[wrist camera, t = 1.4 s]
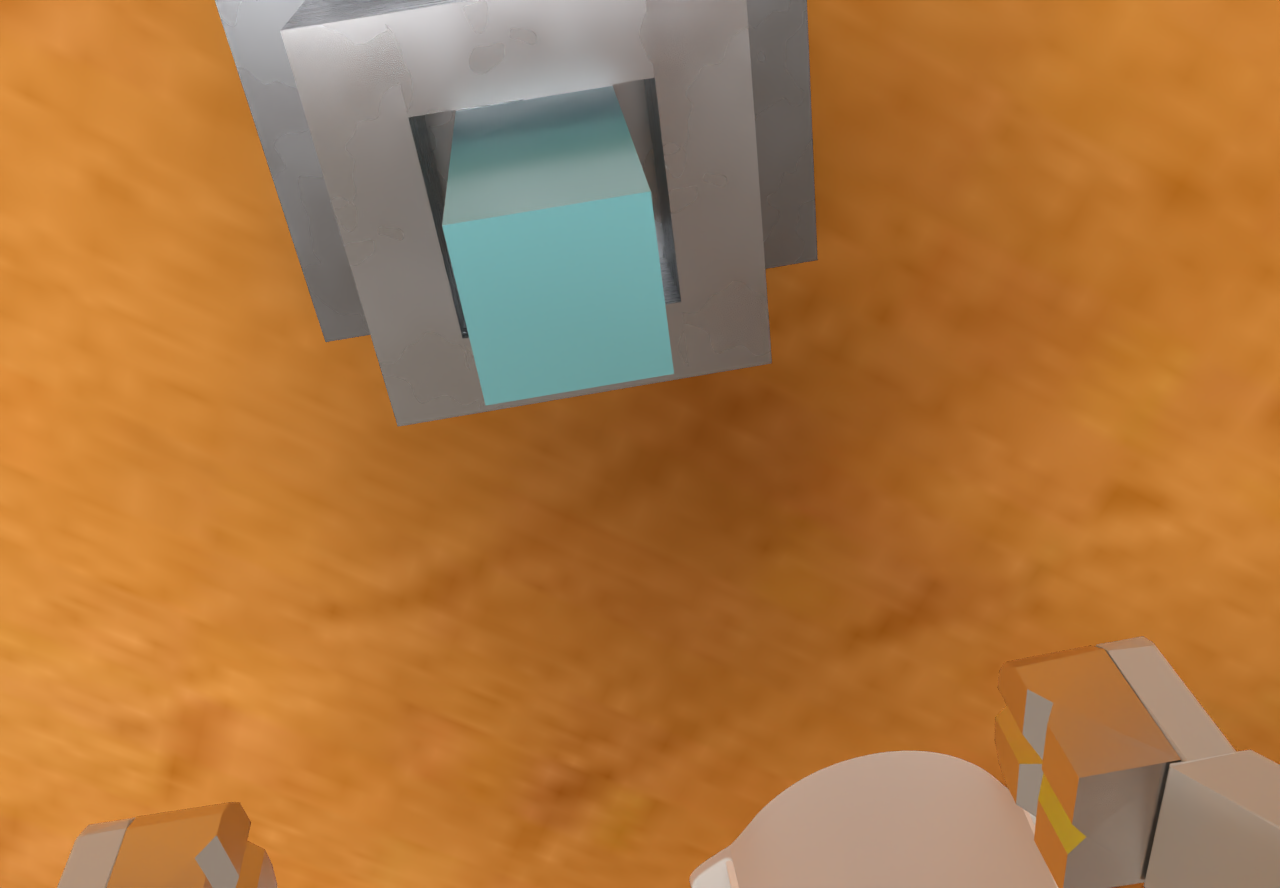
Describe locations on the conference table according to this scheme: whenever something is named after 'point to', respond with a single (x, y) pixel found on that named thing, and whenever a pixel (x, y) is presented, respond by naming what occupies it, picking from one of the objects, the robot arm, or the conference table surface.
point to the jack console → (514, 71)
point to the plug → (554, 247)
